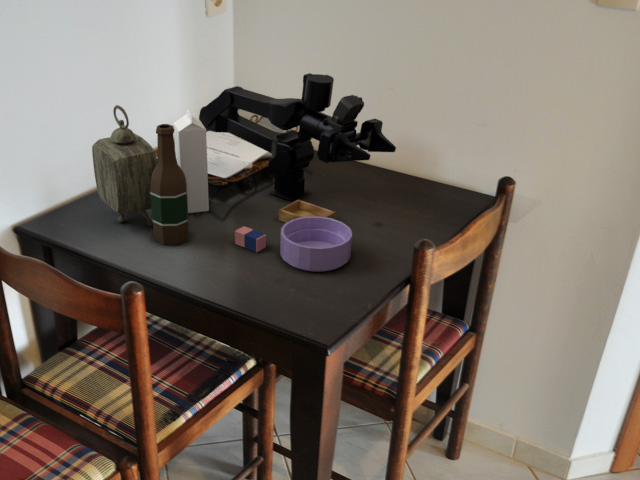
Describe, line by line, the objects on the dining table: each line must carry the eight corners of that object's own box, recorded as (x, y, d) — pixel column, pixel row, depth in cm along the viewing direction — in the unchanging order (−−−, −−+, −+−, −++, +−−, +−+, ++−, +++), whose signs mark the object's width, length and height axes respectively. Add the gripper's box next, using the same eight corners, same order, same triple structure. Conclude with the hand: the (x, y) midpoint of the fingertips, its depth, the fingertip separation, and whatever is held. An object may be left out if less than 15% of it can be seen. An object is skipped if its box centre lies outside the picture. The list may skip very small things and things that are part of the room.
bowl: (266, 258, 153) (266, 233, 150) (307, 233, 162) (308, 210, 159) (323, 280, 146) (324, 255, 143) (363, 254, 155) (365, 230, 152)
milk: (183, 214, 170) (177, 117, 157) (178, 203, 174) (171, 108, 162) (209, 211, 171) (205, 114, 158) (204, 200, 176) (199, 105, 163)
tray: (278, 219, 168) (278, 209, 166) (298, 209, 173) (298, 199, 171) (315, 233, 163) (316, 222, 161) (334, 222, 167) (335, 211, 166)
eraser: (234, 243, 158) (234, 230, 156) (244, 238, 160) (244, 225, 158) (256, 252, 155) (256, 239, 153) (266, 247, 157) (266, 234, 155)
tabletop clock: (162, 227, 164) (154, 113, 149) (123, 237, 160) (111, 120, 145) (135, 203, 174) (124, 94, 159) (97, 212, 169) (83, 100, 155)
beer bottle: (196, 232, 162) (191, 122, 148) (180, 248, 156) (174, 135, 142) (163, 226, 164) (155, 117, 150) (146, 242, 158) (137, 129, 144)
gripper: (303, 97, 153) (364, 122, 145) (358, 86, 165) (416, 108, 158) (294, 149, 159) (352, 176, 151) (348, 135, 172) (404, 159, 164)
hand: (382, 153), depth 156 cm, fingers open, 9 cm apart
